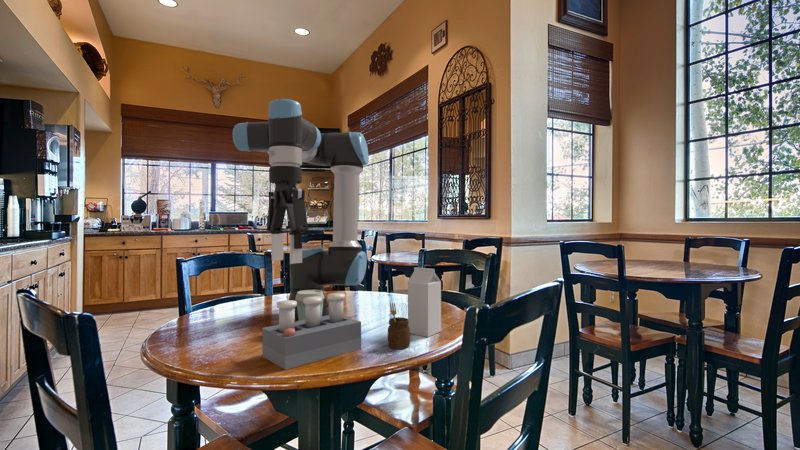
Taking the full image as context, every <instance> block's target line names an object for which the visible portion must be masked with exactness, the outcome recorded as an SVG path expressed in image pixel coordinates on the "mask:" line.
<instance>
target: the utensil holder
mask: <svg viewBox="0 0 800 450" xmlns="http://www.w3.org/2000/svg"><path fill="white" fill-rule="evenodd" d="M403 305H404V306H405V311H403V313H402V314H403V315H404V316H400V313H397V309H398V311H399V312H402V310H403V309H402V308H396V304H395V302H394V303H393V302H389V309H390V314H391V315H393V317H391V318H390V319H388V320H389V321H388V327H387V346H388V347H389V348H391V349H394V350H404V349H408V348H410V346H411V333H410V328H409V326H408V324H409V321H408V317H406V316H407V314H408V304H406V303H404V302H403V303H400V306H403ZM397 314H398V317H396V315H397Z"/></svg>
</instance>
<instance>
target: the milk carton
mask: <svg viewBox="0 0 800 450" xmlns="http://www.w3.org/2000/svg"><path fill="white" fill-rule="evenodd" d="M413 270H414V271H412V272H413V273H412V274H411V275H410V278H409V279H408V281H407V319H408V321H409V324H408V326H409V328H410V335H411V334H412V335H417V336H422V337H427V338H429V337H432V336H433V335H436V334H438V333H440V332H442V280H441V279H440V278H439V276H438V275H437V274H436V272H435V268H429V267H428V268H426V267H417V266H416V267H414V268H413Z"/></svg>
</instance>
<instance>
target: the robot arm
mask: <svg viewBox="0 0 800 450" xmlns="http://www.w3.org/2000/svg"><path fill="white" fill-rule="evenodd" d="M267 115H268V116H267V119H268V120H267V121H257V122H256V121H252V122H251V121H250V122H249V121H246V122H240V123H237V124H235V125H234V127H233V128H232V141H233V144H234V146H235V147H236V149H237V150H239V151H240V152H249V153H251V152H262V153H267V155H268V160H269V161H268V164H269V165H270V167H269V168H268V181H269V183H271V184H274V185H275V187H274V191H269V192H268V209H267V220H266V221H267V222H266V231H267V232H269V233H270V234H271V261H273V262H275V261H284V233H285V232H284V230H283V226H284V221H285V216H286V215H287V218H288V222H289V226H290V232H289V233H288V235H289V280H290V281H289V284H290V285H289V288H290V289H289V290H290V292H289V296H288V300H294V301H296V300H295V298H296V295H297V292H299V291H303V290H321V291H323V294H324V297H325V298H324V299H323V309H322V316H327V315H330V313H329V301H328V299H327V296H326V294H325V286H345V287H346V286H347V287H348V286H358V285H360V284H361V283H362V281H363V280H364V277H365V276H366V270H367V265H368V264H367V263H368V260H367V253H366V252H365V251H363V250H362V249H363V248H362V245H361V244H360V243H359V241H358V236H359V235H358V231H359V225H358V224H359V190H360V189H359V185H360V184H359V183H360V178H359V177H360V174H361V173H362V172H364V166H367V165H368V164H369V161H370V160H369V150H368V149H369V148H368V143H367V141H366V139H365V136H364V135H363V134H362V133H361V132H359V131H358V132H357V131H353V132H352V131H348V132H347V131H345V132H327V133H326V132H324V133H323V132H322V133H321V131H320V130H319V128H318V127H317V126H315V124H313V122H311V121H309V120H306V119H305V118H303V117H302V116H303V112H302V105H301V104H300V102H298V101H297V100H293V99H289V98H277V99H273V100H271V101H270V102H269V104H268V114H267ZM303 163H306V164H311V165H315V166H323V167H330V171H331V172H332V173H333V174H334V177H333V179H334V181H333V184H334V185H333V216H332V217H333V218H332V220H333V221H332V222H333V223H332V224H333V225H332V242H331V243H330V244H328V247H327V251H325V249H324V247H323V246H321V247H315V248H312V247H311V248H307V249H306V248H305V249H303V235H304V234H305V232H308V231H309V226H308V219H307V218H308V217H307V209H306V201H305V196H306V195H305V194H306V191H305V190H306V189H304V188H298V185H300V184H302V182H303V169H302V168H301V166H302V165H303ZM296 319H298V311H297V306H296V307H295V320H296ZM298 320H299V319H298Z"/></svg>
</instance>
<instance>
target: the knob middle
mask: <svg viewBox="0 0 800 450" xmlns="http://www.w3.org/2000/svg"><path fill="white" fill-rule="evenodd" d="M321 302H322V297H317V296H312V297H305V298H303V303H305V313H306V327H307V328H313V327H318V326H320V303H321Z"/></svg>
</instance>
